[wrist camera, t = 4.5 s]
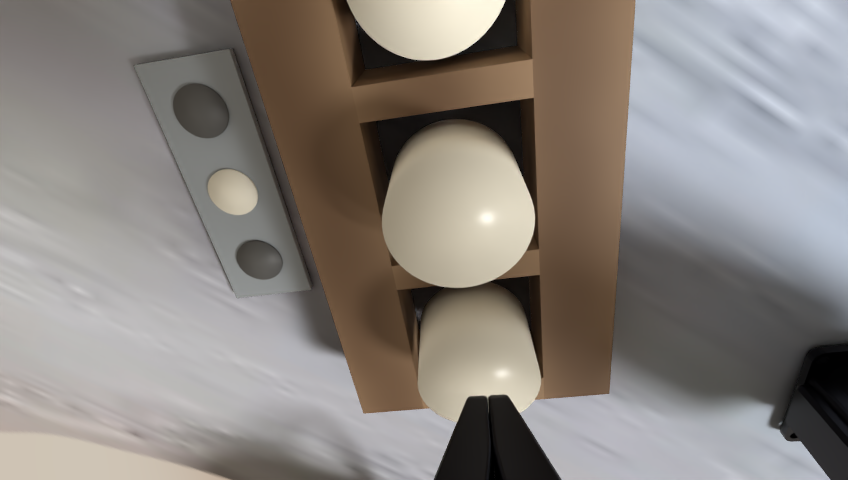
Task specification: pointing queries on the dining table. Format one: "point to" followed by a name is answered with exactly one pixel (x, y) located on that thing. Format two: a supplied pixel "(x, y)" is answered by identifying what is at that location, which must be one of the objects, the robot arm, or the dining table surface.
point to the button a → (425, 24)
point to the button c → (475, 349)
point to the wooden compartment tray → (439, 91)
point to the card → (227, 169)
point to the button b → (457, 205)
